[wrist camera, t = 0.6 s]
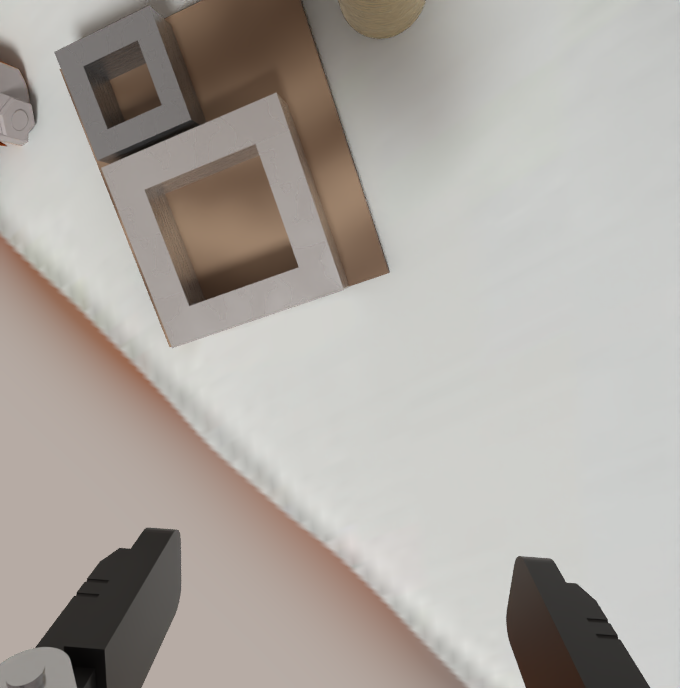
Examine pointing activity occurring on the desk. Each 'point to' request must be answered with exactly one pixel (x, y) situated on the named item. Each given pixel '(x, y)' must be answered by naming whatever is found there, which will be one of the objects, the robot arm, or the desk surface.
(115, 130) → the grey square ring
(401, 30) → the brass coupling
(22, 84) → the toy gun
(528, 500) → the desk surface
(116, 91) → the walnut board
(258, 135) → the wide steel port
